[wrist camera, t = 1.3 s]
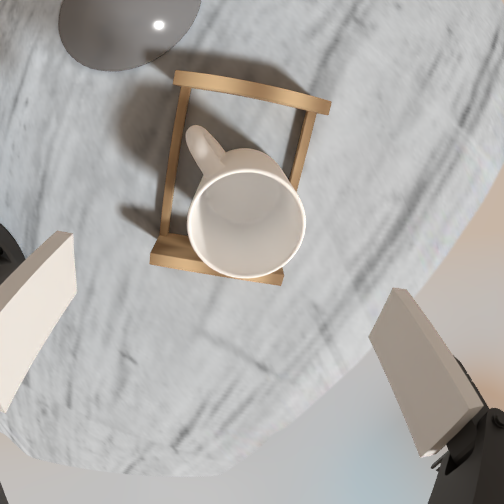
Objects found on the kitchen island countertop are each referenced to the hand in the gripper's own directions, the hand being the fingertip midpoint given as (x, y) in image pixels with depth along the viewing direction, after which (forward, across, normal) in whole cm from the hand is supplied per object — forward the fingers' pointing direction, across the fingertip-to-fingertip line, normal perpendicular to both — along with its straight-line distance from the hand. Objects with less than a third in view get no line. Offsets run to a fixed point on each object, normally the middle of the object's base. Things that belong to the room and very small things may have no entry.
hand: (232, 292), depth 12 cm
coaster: (+20, -14, +16) cm, 30 cm away
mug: (+21, 0, 0) cm, 21 cm away
